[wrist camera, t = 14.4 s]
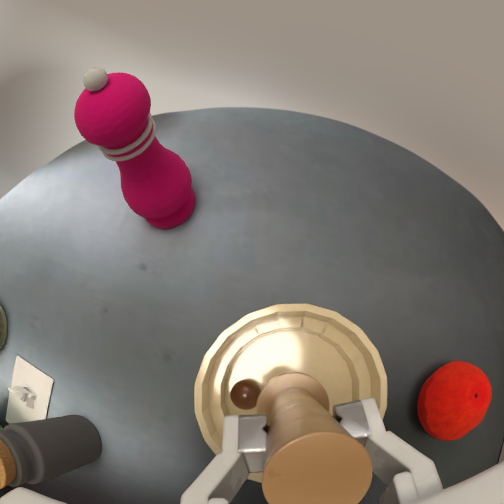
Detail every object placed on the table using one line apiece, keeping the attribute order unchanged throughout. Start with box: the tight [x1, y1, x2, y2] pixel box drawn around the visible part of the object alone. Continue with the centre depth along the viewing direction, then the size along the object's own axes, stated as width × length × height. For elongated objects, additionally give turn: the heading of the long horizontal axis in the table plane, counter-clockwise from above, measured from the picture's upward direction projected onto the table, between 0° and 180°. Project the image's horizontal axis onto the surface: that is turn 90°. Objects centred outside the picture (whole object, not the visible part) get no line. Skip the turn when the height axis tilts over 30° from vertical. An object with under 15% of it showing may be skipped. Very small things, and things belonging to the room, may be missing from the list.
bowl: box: [195, 304, 387, 483], centre depth 25 cm, size 15×15×6 cm
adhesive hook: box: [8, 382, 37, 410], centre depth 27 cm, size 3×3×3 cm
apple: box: [417, 361, 492, 441], centre depth 23 cm, size 8×8×7 cm
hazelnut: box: [230, 380, 261, 410], centre depth 26 cm, size 3×3×3 cm
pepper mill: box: [74, 67, 195, 229], centre depth 26 cm, size 7×7×20 cm
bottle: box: [0, 415, 101, 489], centre depth 20 cm, size 6×6×15 cm
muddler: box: [256, 372, 373, 504], centre depth 11 cm, size 4×4×12 cm
